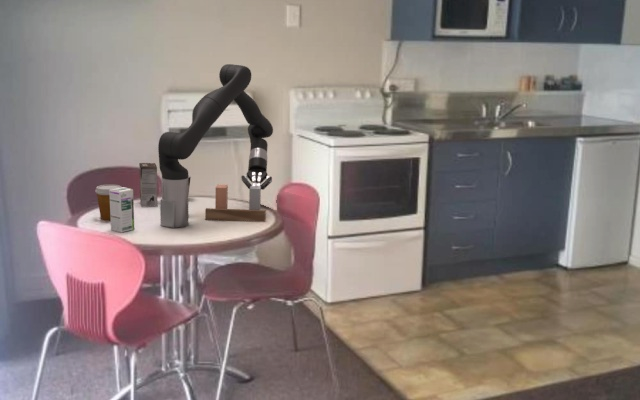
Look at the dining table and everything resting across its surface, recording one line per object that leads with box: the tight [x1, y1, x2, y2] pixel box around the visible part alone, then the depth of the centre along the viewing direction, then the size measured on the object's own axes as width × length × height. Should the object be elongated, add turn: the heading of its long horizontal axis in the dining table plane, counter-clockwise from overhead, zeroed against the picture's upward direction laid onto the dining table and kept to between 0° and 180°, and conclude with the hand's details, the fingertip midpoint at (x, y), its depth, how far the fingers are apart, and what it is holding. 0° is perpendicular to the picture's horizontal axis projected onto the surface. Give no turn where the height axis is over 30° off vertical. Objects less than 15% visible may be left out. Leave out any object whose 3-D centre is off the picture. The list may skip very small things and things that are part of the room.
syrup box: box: [109, 186, 135, 234], centre depth 231 cm, size 6×6×14 cm
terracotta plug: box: [214, 183, 229, 209], centre depth 262 cm, size 6×4×10 cm, turn 2°
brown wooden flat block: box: [204, 207, 267, 223], centre depth 256 cm, size 12×22×4 cm, turn 92°
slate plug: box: [248, 185, 262, 210], centre depth 262 cm, size 6×4×10 cm, turn 2°
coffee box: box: [139, 162, 158, 208], centre depth 269 cm, size 9×6×16 cm
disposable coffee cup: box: [94, 184, 122, 222], centre depth 245 cm, size 10×10×12 cm
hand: (255, 197), depth 267 cm, fingers closed
